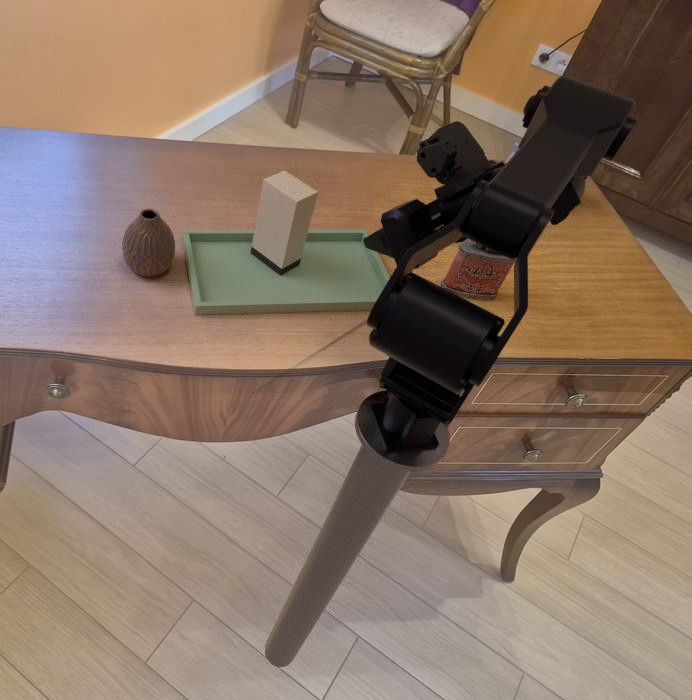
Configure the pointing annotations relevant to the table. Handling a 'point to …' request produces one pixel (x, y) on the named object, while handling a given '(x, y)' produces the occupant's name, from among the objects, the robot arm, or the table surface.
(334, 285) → the tray
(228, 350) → the table surface
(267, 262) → the eraser
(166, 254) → the vase
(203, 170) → the table surface
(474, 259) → the lighter
